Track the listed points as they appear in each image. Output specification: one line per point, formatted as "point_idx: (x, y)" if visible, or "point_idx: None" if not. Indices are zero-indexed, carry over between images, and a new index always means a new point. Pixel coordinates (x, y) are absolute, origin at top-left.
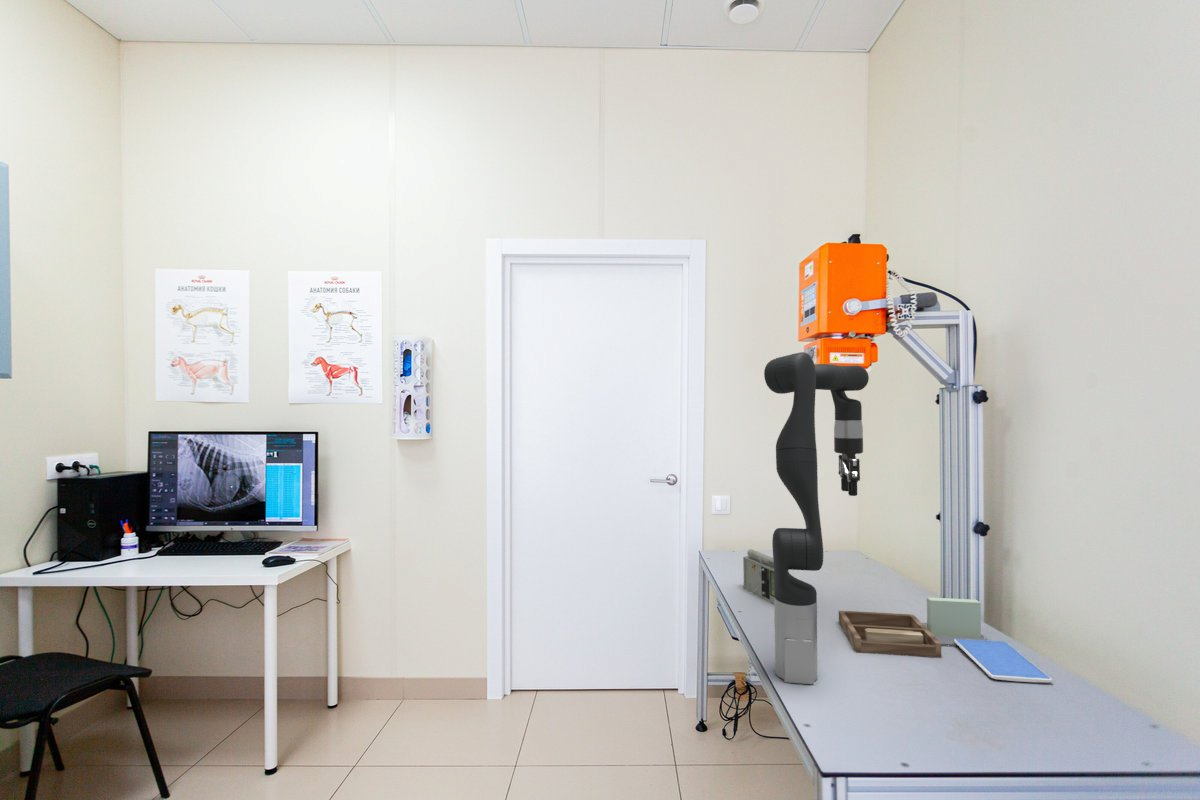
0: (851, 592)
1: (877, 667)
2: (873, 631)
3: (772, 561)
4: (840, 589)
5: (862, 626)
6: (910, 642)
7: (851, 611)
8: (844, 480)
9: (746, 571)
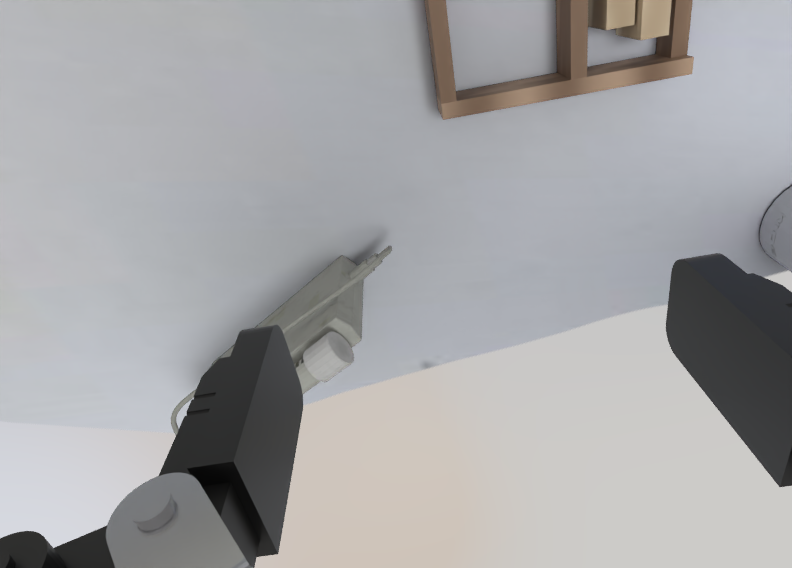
0: (68, 47)
1: (773, 9)
2: (663, 10)
3: (315, 384)
4: (54, 90)
5: (586, 43)
6: None
7: (441, 73)
8: (271, 492)
9: None
